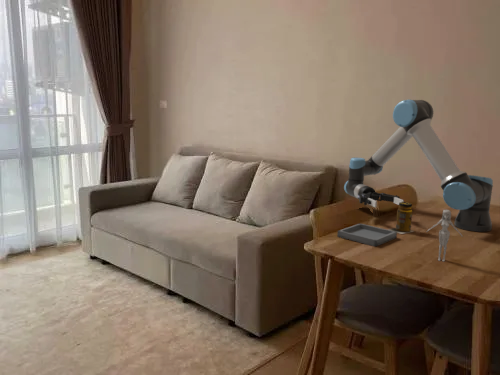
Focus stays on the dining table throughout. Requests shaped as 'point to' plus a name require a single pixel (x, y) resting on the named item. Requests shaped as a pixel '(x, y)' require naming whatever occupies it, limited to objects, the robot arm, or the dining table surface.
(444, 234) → the human figurine
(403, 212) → the condiment
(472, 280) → the dining table surface
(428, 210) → the dining table surface
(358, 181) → the robot arm
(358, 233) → the holder
